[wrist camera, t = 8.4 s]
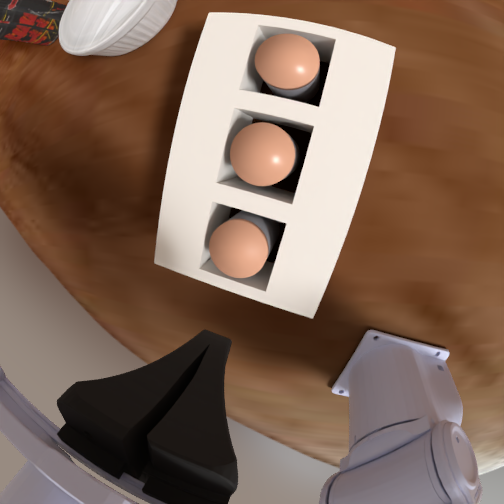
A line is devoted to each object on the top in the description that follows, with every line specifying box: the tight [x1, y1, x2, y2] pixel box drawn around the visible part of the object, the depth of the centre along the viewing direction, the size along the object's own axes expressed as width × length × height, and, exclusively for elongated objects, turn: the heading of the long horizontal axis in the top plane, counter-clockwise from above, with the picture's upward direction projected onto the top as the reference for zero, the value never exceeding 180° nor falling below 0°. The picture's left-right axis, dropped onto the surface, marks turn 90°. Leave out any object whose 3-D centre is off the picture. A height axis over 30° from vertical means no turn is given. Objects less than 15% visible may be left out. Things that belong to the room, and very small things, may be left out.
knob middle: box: [230, 122, 300, 186], centre depth 16 cm, size 3×3×5 cm
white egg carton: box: [154, 13, 395, 319], centre depth 16 cm, size 11×17×5 cm, turn 166°
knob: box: [255, 34, 320, 103], centre depth 14 cm, size 3×3×5 cm
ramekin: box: [59, 0, 177, 56], centre depth 14 cm, size 11×11×5 cm
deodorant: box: [0, 0, 67, 46], centre depth 10 cm, size 6×6×15 cm
